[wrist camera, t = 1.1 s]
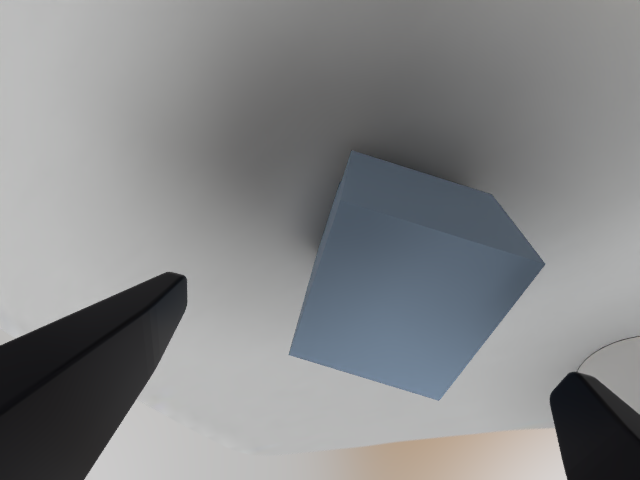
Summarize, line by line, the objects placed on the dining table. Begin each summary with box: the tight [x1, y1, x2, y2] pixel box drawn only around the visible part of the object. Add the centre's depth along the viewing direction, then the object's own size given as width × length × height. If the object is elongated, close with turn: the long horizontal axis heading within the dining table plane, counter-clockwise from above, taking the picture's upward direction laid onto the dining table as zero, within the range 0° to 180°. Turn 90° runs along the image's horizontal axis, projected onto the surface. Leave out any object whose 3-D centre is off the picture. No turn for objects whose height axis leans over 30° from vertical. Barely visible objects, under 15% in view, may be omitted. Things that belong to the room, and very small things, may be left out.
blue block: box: [289, 150, 545, 400], centre depth 16 cm, size 6×8×8 cm
